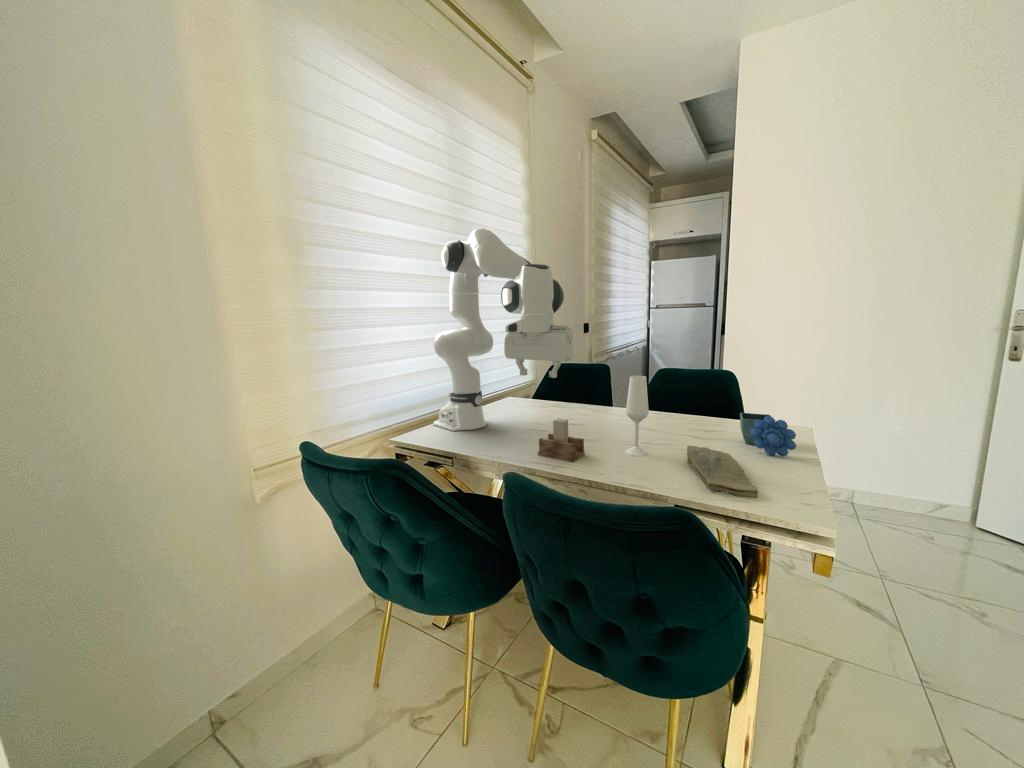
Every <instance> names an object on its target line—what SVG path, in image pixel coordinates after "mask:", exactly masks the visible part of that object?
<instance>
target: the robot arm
mask: <svg viewBox="0 0 1024 768" xmlns="http://www.w3.org/2000/svg"><path fill="white" fill-rule="evenodd" d="M441 263H442V266H443V268H444V269H445V270H446V271H448V272H450V280H449V312H450V315H451V316H452V317H453V318H454V319H456V320H457V321H459V323H460V327H461V328H460V329H448V330H445V331H442V332H439V333H437V334H436V335H435V338H434V341H433V349H434V351H435V353H436V354H437V356H438V357H440V358H441V359H442V360H443V361H445V363H446V365H447V366H448V367H449V368H448V369H449V370H450V375H451V381H452V392H451V393H449V392H448V397H450V399H449V401H448V402H447V403H446V404H445V405H444V406H443V407H442V408H440V409H439V412H438V419H437V420H434V421H433V423H432V424H433V426H435V427H439V428H442V429H445V430H449V431H453V432H456V431H464V430H465V431H467V430H468V431H469V430H477V429H481V428H483V427H485V426H486V425H487V422H486V420H485V417H484V411H483V406H482V402H483V393H482V392H483V391H482V390H481V374H480V371H479V370H478V369H477V368H476V367H474V366H473V365H471V363H470V361H469V357H478V356H483V355H485V354H487V353H490V352H491V351H492V350H493V346H494V338H493V336H492V334H491V332H490V331H488V329H487V328H486V327H485V326H484V324H483V321H482V319H481V315H480V307H479V303H480V301H479V298H480V297H479V278H480V276H481V275H483V277H484V278H487V277H488V276H489V277H493V278H501V279H510V280H508V281H506V283H505V284H504V285H503V286H502V289H501V293H500V298H501V301H500V302H501V305H502V306H503V308H504V309H505V311H507V312H508V313H510V314H515V315H517V314H518V315H520V319H518V320H515V321H513V322H511V323H508V324H505V332H506V333H507V334H506V335H505V337H504V347H503V348H504V349H503V351H504V356H505V357H506V359H507V360H515V364H516V366H517V367H518V369H519V375H520V376H527V375H528V373H529V372H528V368H525V365H524V363H525V360H527V361H528V360H529V361H548V362H552V366H553V368H552V370H549V371H548V378H552V379H556V378H557V377H558V370H559V368H560V367H561V364H562V362H570V361H572V359H573V358H574V346H573V330H572V329H571V328H570V327H569V326H568V325H555V320H554V319H555V316H554V315H555V314H556V313H557V311H559V309H560V308H561V306H562V305H563V303H564V298H565V295H564V294H565V293H564V290H563V288H562V286H561V285H560V283H559V282H558V281H557V280H556V279H554V278H553V273H552V269H551V267H550V266H549V265H546V264H540V263H539V264H538V263H531V262H530V261H529V260H527V259H526V258H524V257H523V256H521V255H520V254H518V253H517V252H515V251H513V250H512V249H511V248H510V247H508V245H506V244H505V243H504V242H503V241H502V239H500V238H499V236H497V234H495V233H494V232H492V231H491V230H489V229H487V228H485V227H480V228H479V227H478V228H476V229H474V230H472V232H471V233H470V234H469V236H468V239H467V241H465V240H464V241H463V240H460V239H459V240H453V241H452V240H451V241H448V242H446V243H445V244H444V245H443V247H442V251H441Z"/></svg>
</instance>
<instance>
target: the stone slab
mask: <svg viewBox="0 0 1024 768" xmlns="http://www.w3.org/2000/svg"><path fill="white" fill-rule="evenodd" d="M686 447H687V449H686V451H687V452H686V454H687V455H686V456H687V458H686V459H687V460H686V462H687V463H688V464H690V465H691V466H692V467H693V469H694V472H695V473H696V475H697V476H698V478H699V479H700V481H701V482H702V484H704V485H705V486H706V487H707V489H708V490H709V491H710V492H711V493H716V492H717V493H720V492H723V491H724V492H725V493H727V492H728V494H729V493H730V494H729V495H732V496H735V497H738V496H739V498H748V497H750V498H751V499H752V497H754V498H753V499H758V494H759V492H758V489H757V487H756V485H753V484H752V482H751V481H750V480H749V478H748V476H747V475H746V473H745V471H744V469H743V468H742V467H741V466H740V464H739V463H738V461H737V460H736V459H735V458H734V457H733V456H731V454H729V453H727V452H725V451H724V452H723V451H720V450H715V449H711V448H710V447H705V446H704V447H700V446H696V445H687V446H686ZM719 491H720V492H719ZM724 492H723V493H724Z"/></svg>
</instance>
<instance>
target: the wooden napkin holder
mask: <svg viewBox="0 0 1024 768" xmlns="http://www.w3.org/2000/svg"><path fill="white" fill-rule="evenodd" d="M538 441H539V442H538V447H539V448H538V449H539V450H538V455H537V456H541V457H545V458H549V457H550V458H549V459H555V460H559V461H564V460H565V461H564V462H570V463H574V461H575V462H576V461H577V460H579V459H580V458H582V457H583V456H584V455H585V439H584V438H580V437H575V436H574V437H573V436H569V435H568V443H567V442H561V441H556V440H554V433H548V434H547V438H543V437H539V439H538Z"/></svg>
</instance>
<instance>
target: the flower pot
mask: <svg viewBox="0 0 1024 768" xmlns="http://www.w3.org/2000/svg"><path fill="white" fill-rule="evenodd" d="M766 416H770V417H772V415H771V414H765V413H764V414H763V413H751V412H740V413H739V419H740V420H739V424H740V431H741V435H742V438H743V440H744V442H745V444H746V445H753V446H754V445H755V444H754V441H755V439H756V438H753V437H752V436H751V435H750V430H751V429H753V428H755V426H754V424H753V423H754V421H755V420H758V419H759V420H762V421H763V422H764V418H765V417H766Z"/></svg>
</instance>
